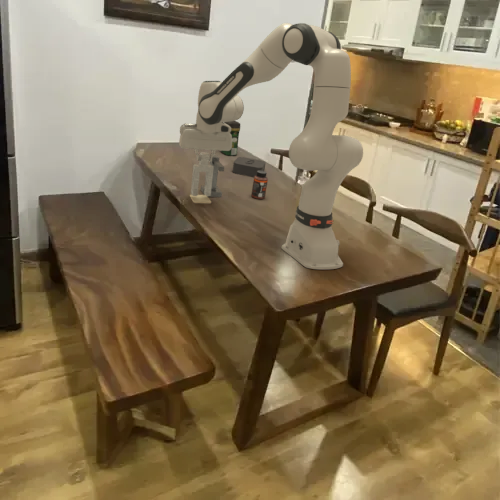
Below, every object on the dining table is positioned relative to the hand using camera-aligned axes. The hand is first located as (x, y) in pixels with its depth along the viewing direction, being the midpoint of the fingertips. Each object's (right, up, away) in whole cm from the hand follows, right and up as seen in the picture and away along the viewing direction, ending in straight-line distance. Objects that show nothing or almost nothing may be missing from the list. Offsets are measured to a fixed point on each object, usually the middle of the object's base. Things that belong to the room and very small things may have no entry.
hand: (204, 160), depth 189 cm
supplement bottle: (+21, -12, +20) cm, 31 cm away
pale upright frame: (-2, -13, +6) cm, 14 cm away
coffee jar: (+6, +18, +79) cm, 81 cm away
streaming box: (+17, +4, +53) cm, 55 cm away
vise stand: (+3, -13, +12) cm, 18 cm away
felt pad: (-2, -14, +7) cm, 16 cm away
